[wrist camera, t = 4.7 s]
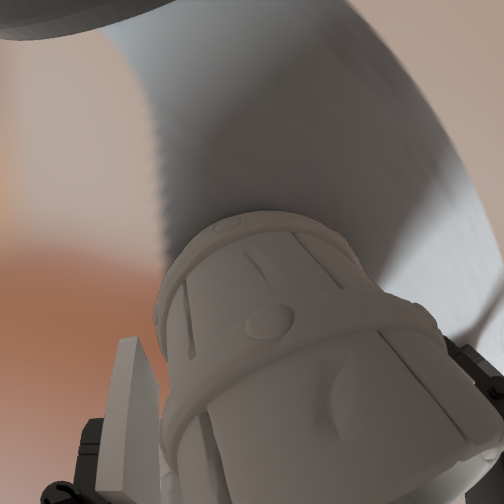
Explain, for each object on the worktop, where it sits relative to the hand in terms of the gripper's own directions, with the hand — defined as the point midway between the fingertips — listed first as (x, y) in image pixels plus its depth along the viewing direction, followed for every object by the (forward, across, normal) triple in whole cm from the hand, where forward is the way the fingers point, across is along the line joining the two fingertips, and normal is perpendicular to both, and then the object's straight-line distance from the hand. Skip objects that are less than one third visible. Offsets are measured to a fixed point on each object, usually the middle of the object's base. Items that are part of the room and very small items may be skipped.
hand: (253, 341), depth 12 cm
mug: (+1, -1, 0) cm, 1 cm away
